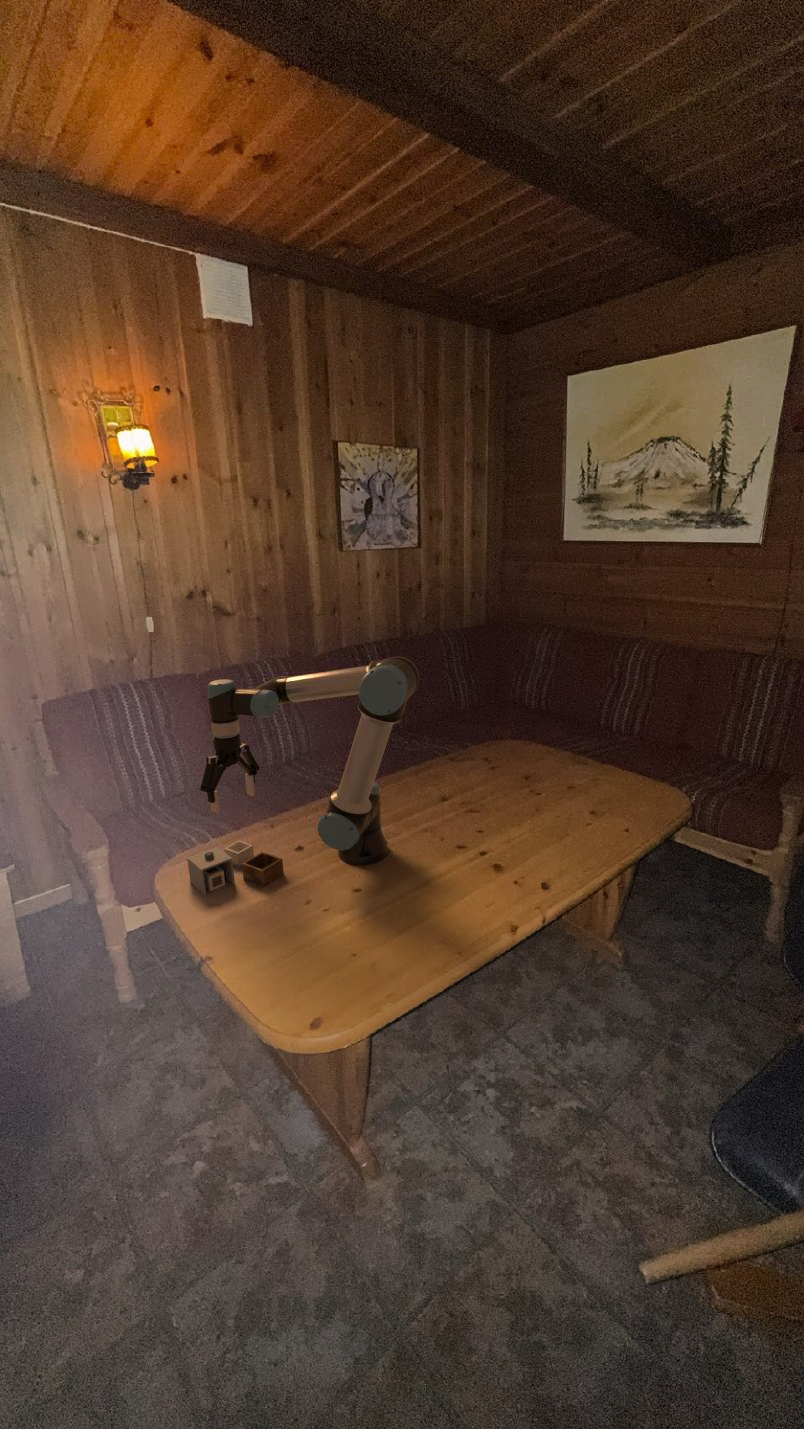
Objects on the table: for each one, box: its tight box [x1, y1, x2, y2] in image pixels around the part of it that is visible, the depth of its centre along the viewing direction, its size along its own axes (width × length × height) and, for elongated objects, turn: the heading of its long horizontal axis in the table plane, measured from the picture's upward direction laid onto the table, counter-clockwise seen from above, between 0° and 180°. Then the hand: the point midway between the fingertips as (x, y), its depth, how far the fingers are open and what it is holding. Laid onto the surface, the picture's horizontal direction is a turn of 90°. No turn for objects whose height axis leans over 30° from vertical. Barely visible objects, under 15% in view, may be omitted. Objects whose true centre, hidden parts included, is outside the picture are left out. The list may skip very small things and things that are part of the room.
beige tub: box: [223, 840, 255, 868], centre depth 187 cm, size 6×6×4 cm
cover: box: [186, 846, 235, 897], centre depth 174 cm, size 9×9×9 cm
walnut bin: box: [241, 851, 285, 888], centre depth 178 cm, size 8×8×5 cm
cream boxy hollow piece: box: [203, 866, 226, 892], centre depth 174 cm, size 5×4×5 cm
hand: (233, 803), depth 182 cm, fingers open, 13 cm apart
